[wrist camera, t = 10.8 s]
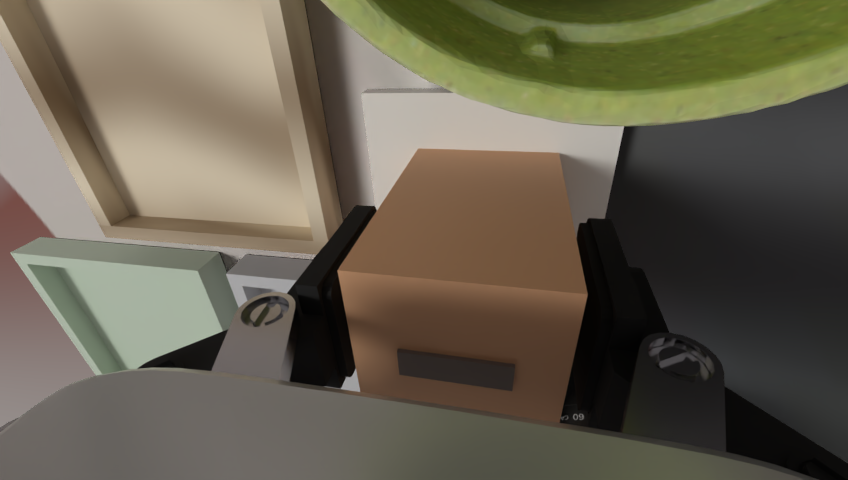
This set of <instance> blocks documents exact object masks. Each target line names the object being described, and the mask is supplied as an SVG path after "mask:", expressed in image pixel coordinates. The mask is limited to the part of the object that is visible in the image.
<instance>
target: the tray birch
mask: <svg viewBox="0 0 848 480" xmlns="http://www.w3.org/2000/svg"><path fill="white" fill-rule="evenodd" d="M0 41H1V43H2V45H3V47H4V49H5V51H6V53H7V54H8V56H9V58H10V60H11V62H12V64H13V66H14V67H15V69H16V71H17V73H18V75H19V77H20V79H21V80H22V82H23V84H24V86H25V88H26V90H27V92H28V93H29V95H30V97H31V99H32V101H33V103H34V105H35V106H36V108H37V110H38V112H39V114H40V116H41V118H42V119H43V121H44V123H45V125H46V127H47V129H48V131H49V132H50V134H51V136H52V138H53V140H54V142H55V144H56V145H57V147H58V149H59V151H60V153H61V155H62V157H63V159H64V160H65V162H66V164H67V166H68V168H69V170H70V172H71V173H72V175H73V177H74V179H75V181H76V183H77V185H78V186H79V188H80V190H81V192H82V194H83V196H84V198H85V199H86V201H87V203H88V205H89V207H90V209H91V211H92V212H93V214H94V216H95V218H96V220H97V222H98V224H99V225H100V227H101V229H102V231H103V233H104V235H105V237H110V238H122V239H134V240H147V241H159V242H171V243H183V244H196V245H208V246H220V247H232V248H245V249H257V250H269V251H281V252H293V253H306V254H318V253H319V251H320V250H321V249H322V248H323V247H324V246H325V245H326V243H327V242H328V241H329V240H330V238H331V237H332V236H333V234H334V233H335V232H336V231H337V229H338V228H339V227H340V225H341V224H342V223H343V219H342V214H341V208H340V202H339V196H338V191H337V185H336V179H335V174H334V168H333V162H332V156H331V151H330V145H329V139H328V134H327V128H326V122H325V116H324V111H323V105H322V99H321V94H320V88H319V82H318V76H317V71H316V65H315V59H314V54H313V48H312V42H311V36H310V31H309V25H308V19H307V14H306V8H305V2H304V0H0Z"/></svg>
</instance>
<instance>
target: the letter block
mask: <svg viewBox="0 0 848 480" xmlns="http://www.w3.org/2000/svg"><path fill="white" fill-rule="evenodd" d="M337 271H338V276H339V281H340V287H341V292H342V297H343V302H344V308H345V313H346V318H347V324H348V329H349V334H350V340H351V345H352V350H353V356H354V361H355V366H356V371H357V377H358V382H359V387H360V392H364V393H370V394H377V395H383V396H390V397H397V398H403V399H410V400H416V401H423V402H429V403H436V404H442V405H449V406H455V407H462V408H468V409H475V410H482V411H488V412H494V413H501V414H507V415H513V416H520V417H526V418H532V419H539V420H545V421H551V422H557V423H560V418H561V414H562V409H563V405H564V400H565V395H566V391H567V386H568V382H569V377H570V373H571V368H572V364H573V359H574V355H575V350H576V346H577V341H578V336H579V332H580V327H581V323H582V318H583V314H584V309H585V305H586V300H587V296H588V293H587V288H586V283H585V279H584V274H583V269H582V264H581V259H580V254H579V249H578V244H577V239H576V234H575V229H574V225H573V220H572V215H571V210H570V205H569V200H568V195H567V190H566V185H565V180H564V176H563V171H562V166H561V161H560V156H559V153H552V152H520V151H487V150H455V149H422V148H418V149H417V151H416V152H415V154H414V156H413V157H412V159H411V160H410V162H409V163H408V165H407V166H406V168H405V169H404V171H403V172H402V174H401V175H400V177H399V178H398V180H397V181H396V183H395V184H394V186H393V187H392V189H391V190H390V192H389V193H388V195H387V196H386V198H385V199H384V201H383V202H382V204H381V205H380V207H379V208H378V210H377V211H376V213H375V214H374V216H373V217H372V219H371V220H370V222H369V223H368V225H367V227H366V228H365V230H364V231H363V233H362V234H361V236H360V237H359V239H358V240H357V242H356V243H355V245H354V246H353V248H352V249H351V251H350V252H349V254H348V255H347V257H346V258H345V260H344V261H343V263H342V264H341V266H340V267H339V269H338V270H337Z"/></svg>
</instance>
